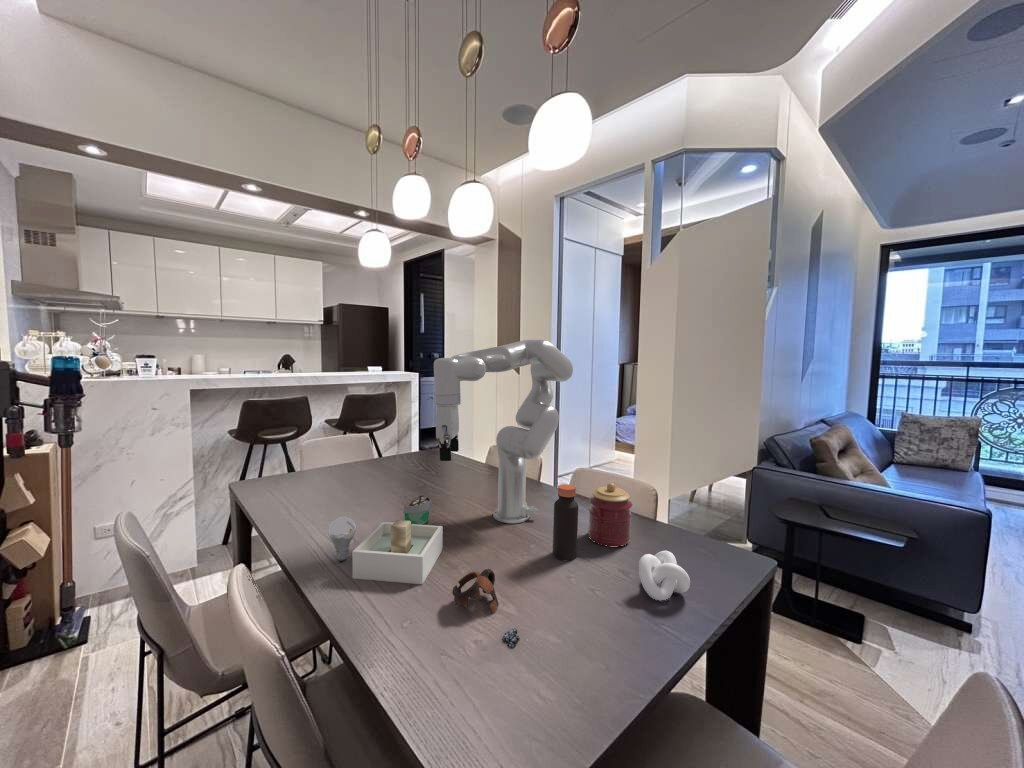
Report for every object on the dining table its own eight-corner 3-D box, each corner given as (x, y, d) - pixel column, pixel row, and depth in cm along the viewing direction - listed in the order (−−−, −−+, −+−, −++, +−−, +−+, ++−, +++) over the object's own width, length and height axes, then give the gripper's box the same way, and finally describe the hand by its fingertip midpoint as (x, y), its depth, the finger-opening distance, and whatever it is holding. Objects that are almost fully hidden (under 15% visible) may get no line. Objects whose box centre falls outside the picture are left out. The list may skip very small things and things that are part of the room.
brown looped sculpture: (492, 625, 89) (472, 594, 88) (459, 630, 93) (440, 601, 92) (512, 583, 99) (495, 555, 98) (482, 590, 104) (465, 563, 103)
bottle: (562, 547, 123) (564, 481, 122) (581, 555, 119) (583, 487, 117) (547, 554, 119) (549, 486, 117) (566, 564, 114) (569, 492, 112)
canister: (638, 538, 130) (640, 483, 129) (617, 552, 121) (620, 493, 119) (601, 526, 139) (603, 474, 138) (579, 538, 130) (581, 482, 128)
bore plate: (438, 547, 119) (438, 537, 119) (420, 577, 104) (420, 566, 103) (384, 543, 121) (384, 533, 121) (358, 572, 105) (358, 561, 105)
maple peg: (410, 556, 114) (411, 520, 113) (405, 563, 110) (405, 527, 109) (396, 555, 115) (396, 519, 114) (391, 562, 111) (391, 526, 110)
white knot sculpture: (629, 577, 108) (631, 543, 107) (676, 578, 108) (678, 545, 107) (641, 603, 97) (643, 566, 96) (693, 605, 97) (696, 568, 96)
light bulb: (361, 556, 115) (361, 514, 114) (343, 569, 109) (343, 524, 108) (341, 552, 117) (340, 510, 116) (322, 564, 111) (321, 520, 110)
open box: (442, 549, 120) (442, 526, 120) (422, 584, 103) (422, 556, 102) (382, 545, 122) (382, 521, 122) (352, 578, 104) (352, 551, 104)
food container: (422, 540, 126) (422, 508, 125) (403, 538, 127) (403, 506, 126) (437, 524, 138) (437, 494, 137) (420, 522, 139) (420, 492, 138)
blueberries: (529, 630, 88) (529, 621, 88) (532, 655, 80) (532, 645, 80) (497, 630, 88) (497, 621, 88) (497, 655, 80) (497, 645, 80)
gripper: (443, 395, 133) (444, 447, 135) (426, 404, 116) (429, 464, 118) (466, 395, 132) (467, 448, 134) (453, 404, 115) (455, 464, 117)
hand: (449, 455), depth 126 cm, fingers open, 9 cm apart
